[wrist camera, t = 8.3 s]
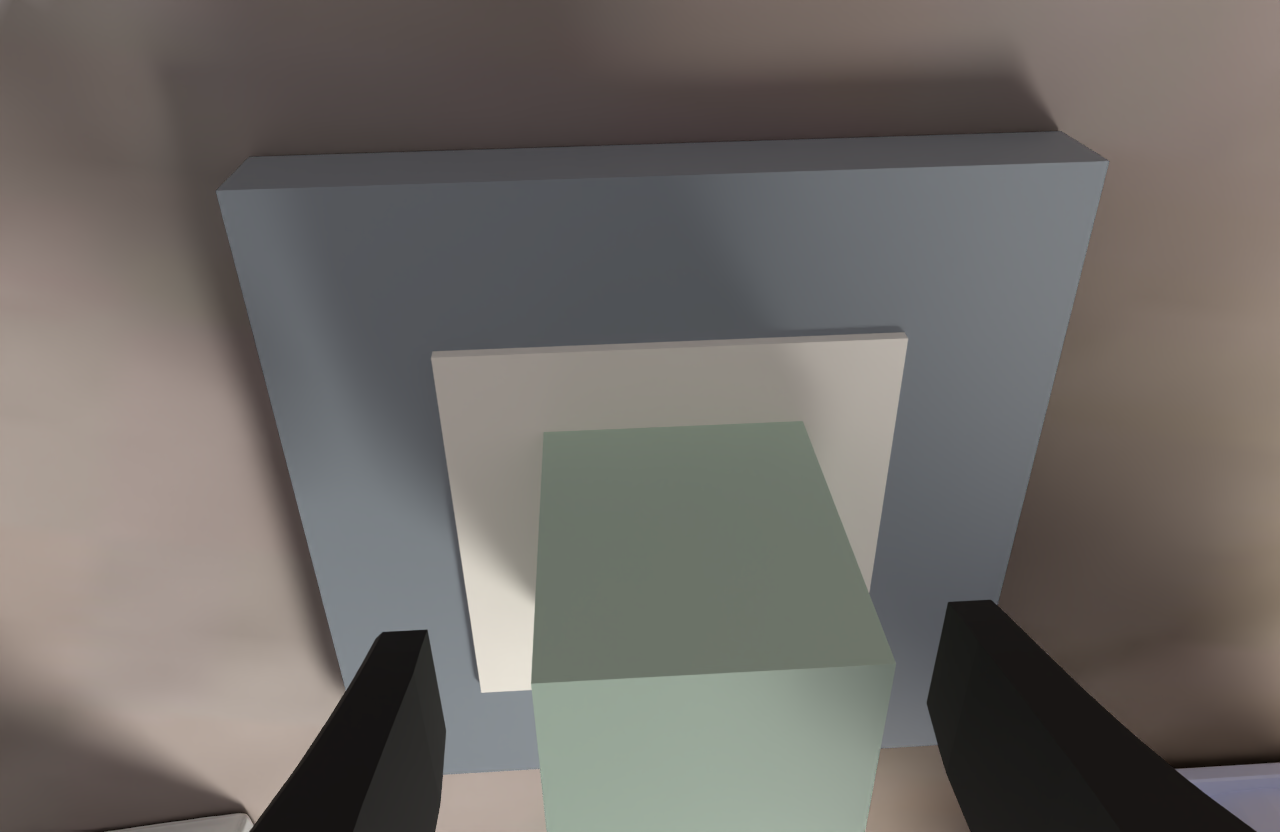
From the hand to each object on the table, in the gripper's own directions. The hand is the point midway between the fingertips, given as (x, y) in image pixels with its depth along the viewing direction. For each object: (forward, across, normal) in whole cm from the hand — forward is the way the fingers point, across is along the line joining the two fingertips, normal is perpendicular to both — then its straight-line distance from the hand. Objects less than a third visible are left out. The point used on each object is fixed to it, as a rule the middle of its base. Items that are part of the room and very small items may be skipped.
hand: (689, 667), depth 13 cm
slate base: (+5, 0, 0) cm, 5 cm away
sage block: (+3, 0, 0) cm, 3 cm away
